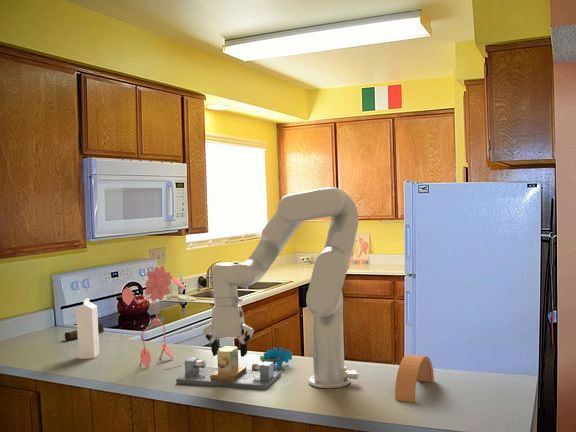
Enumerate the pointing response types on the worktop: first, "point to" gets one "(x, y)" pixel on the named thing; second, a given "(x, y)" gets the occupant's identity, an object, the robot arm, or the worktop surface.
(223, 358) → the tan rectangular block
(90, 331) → the milk
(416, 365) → the arch
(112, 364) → the worktop surface
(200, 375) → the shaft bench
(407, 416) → the worktop surface
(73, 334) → the hand tool
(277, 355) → the gear
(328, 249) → the robot arm
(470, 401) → the worktop surface
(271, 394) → the worktop surface
